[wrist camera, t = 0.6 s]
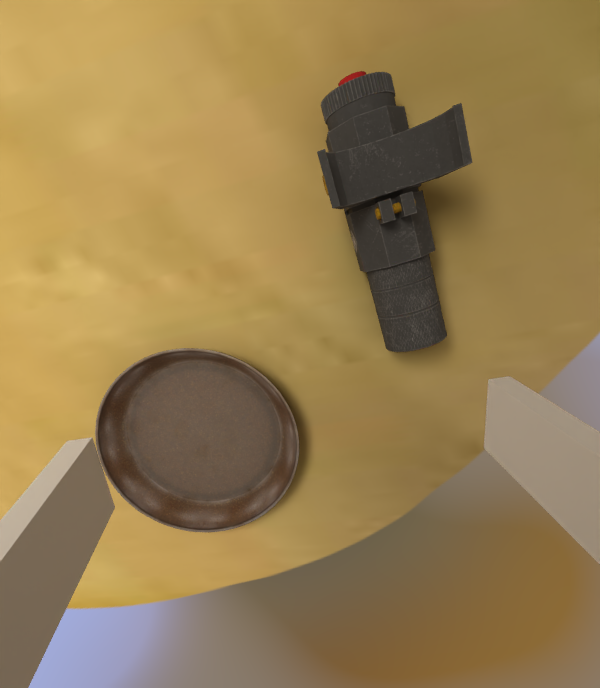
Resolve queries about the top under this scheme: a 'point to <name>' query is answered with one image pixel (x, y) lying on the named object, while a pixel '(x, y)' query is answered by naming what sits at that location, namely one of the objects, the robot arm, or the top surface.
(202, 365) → the plant saucer
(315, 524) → the top surface
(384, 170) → the laser sight
